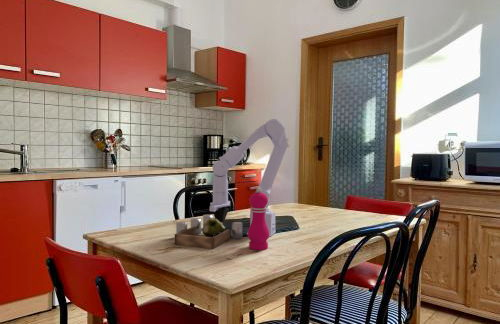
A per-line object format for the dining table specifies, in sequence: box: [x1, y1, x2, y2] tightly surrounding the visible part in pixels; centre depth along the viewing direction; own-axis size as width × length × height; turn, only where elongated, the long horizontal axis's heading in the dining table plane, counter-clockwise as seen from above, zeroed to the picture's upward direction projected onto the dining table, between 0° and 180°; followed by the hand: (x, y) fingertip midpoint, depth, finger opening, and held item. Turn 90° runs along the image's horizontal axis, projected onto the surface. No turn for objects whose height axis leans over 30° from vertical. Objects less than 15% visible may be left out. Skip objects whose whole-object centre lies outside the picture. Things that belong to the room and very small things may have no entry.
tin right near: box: [190, 217, 202, 235], centre depth 147 cm, size 4×4×6 cm
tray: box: [174, 226, 231, 250], centre depth 134 cm, size 15×14×4 cm
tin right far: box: [175, 221, 188, 234], centre depth 140 cm, size 4×4×6 cm
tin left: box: [231, 221, 244, 240], centre depth 140 cm, size 4×4×6 cm
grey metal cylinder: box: [202, 214, 214, 230], centre depth 155 cm, size 4×4×6 cm
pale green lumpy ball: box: [202, 217, 226, 237], centre depth 141 cm, size 9×9×8 cm
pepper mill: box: [247, 187, 270, 251], centre depth 127 cm, size 7×7×20 cm
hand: (220, 227), depth 147 cm, fingers closed
